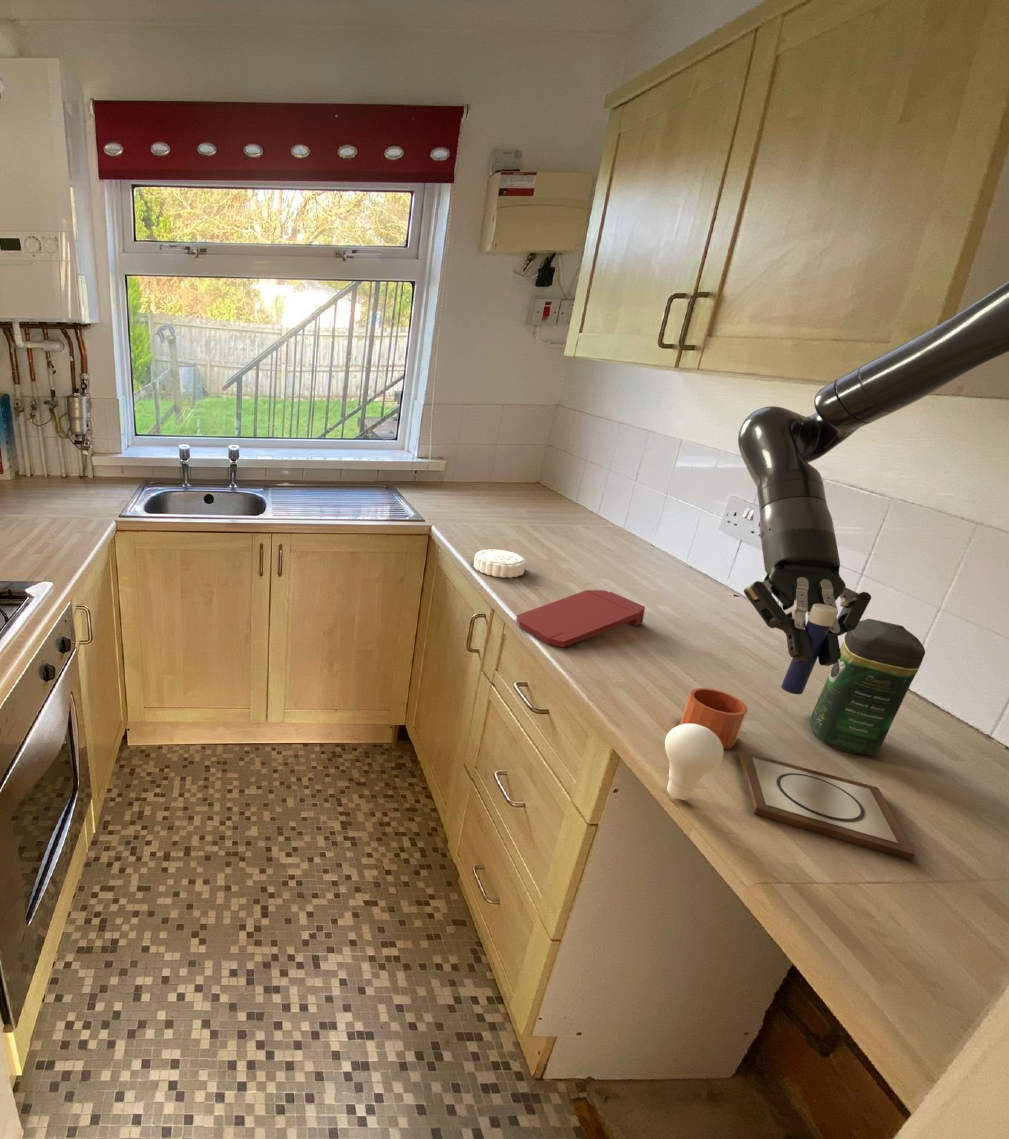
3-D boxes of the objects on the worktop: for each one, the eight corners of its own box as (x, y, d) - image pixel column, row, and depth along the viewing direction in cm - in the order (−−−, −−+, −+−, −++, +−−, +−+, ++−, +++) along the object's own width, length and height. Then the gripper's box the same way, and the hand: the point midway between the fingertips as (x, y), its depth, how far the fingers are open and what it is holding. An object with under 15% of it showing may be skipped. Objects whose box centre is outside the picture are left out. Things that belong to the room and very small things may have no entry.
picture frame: (875, 793, 84) (879, 785, 83) (911, 861, 73) (916, 852, 73) (738, 756, 90) (741, 749, 90) (753, 813, 80) (757, 806, 79)
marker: (801, 688, 82) (835, 606, 78) (805, 697, 80) (841, 613, 76) (778, 683, 83) (811, 601, 79) (782, 691, 81) (815, 609, 77)
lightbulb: (678, 779, 86) (701, 711, 82) (716, 811, 80) (742, 741, 76) (639, 783, 85) (660, 716, 80) (674, 816, 79) (699, 745, 75)
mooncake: (529, 579, 151) (531, 566, 150) (477, 576, 153) (479, 562, 151) (517, 562, 162) (520, 549, 161) (469, 558, 164) (472, 546, 162)
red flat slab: (556, 665, 120) (651, 627, 128) (558, 643, 118) (654, 606, 126) (510, 637, 131) (600, 603, 138) (511, 616, 129) (603, 583, 136)
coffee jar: (882, 764, 89) (937, 650, 82) (810, 743, 93) (857, 633, 86) (872, 731, 96) (922, 624, 89) (805, 713, 101) (848, 609, 94)
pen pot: (731, 729, 96) (743, 696, 94) (738, 754, 91) (751, 720, 88) (677, 715, 100) (688, 683, 97) (681, 739, 94) (692, 705, 92)
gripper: (754, 521, 82) (770, 646, 76) (879, 531, 79) (906, 662, 73) (724, 545, 89) (736, 662, 83) (837, 555, 86) (859, 677, 80)
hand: (815, 662), depth 78 cm, fingers closed on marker, 2 cm apart
